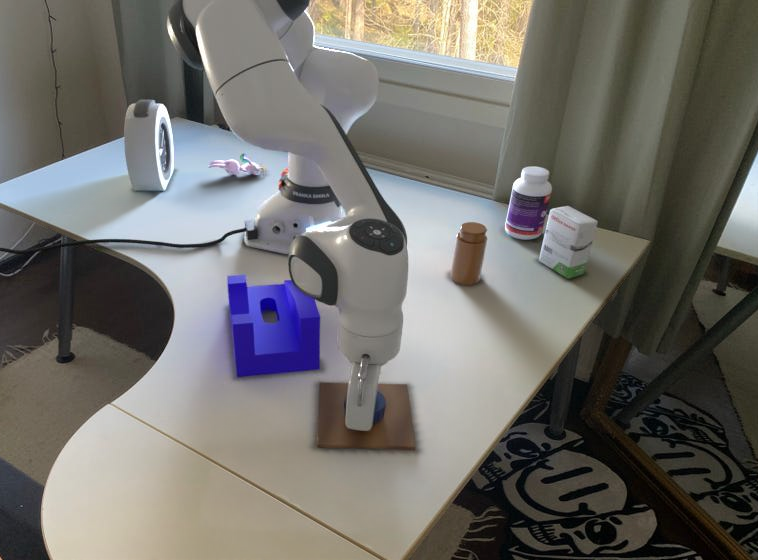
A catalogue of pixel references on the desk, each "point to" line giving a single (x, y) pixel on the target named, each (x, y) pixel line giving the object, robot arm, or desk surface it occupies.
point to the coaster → (383, 434)
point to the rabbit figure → (238, 166)
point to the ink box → (567, 241)
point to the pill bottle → (528, 204)
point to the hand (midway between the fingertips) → (363, 410)
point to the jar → (469, 253)
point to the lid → (379, 407)
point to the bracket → (273, 328)
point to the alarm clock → (148, 146)
